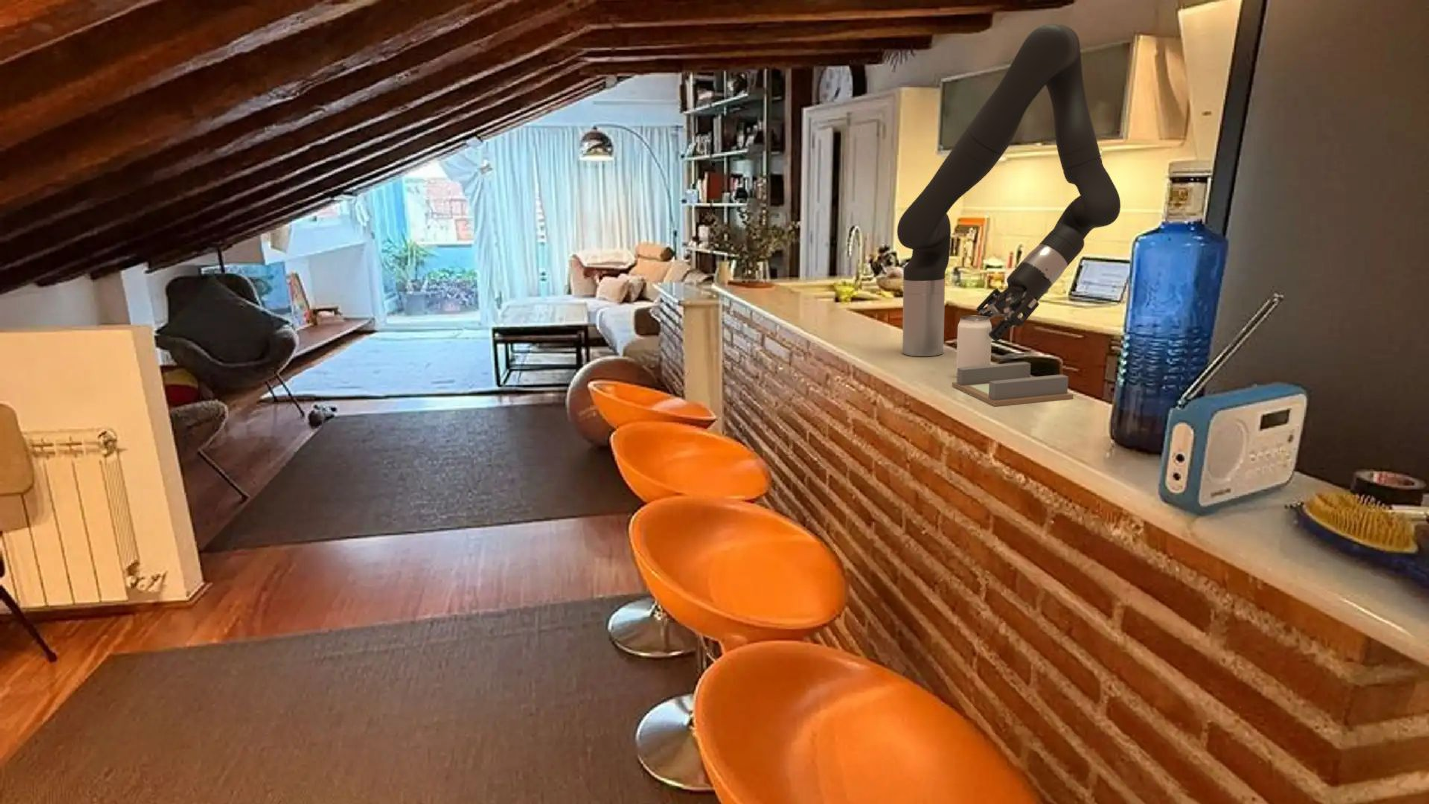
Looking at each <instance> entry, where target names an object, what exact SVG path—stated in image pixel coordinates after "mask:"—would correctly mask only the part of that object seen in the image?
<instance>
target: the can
mask: <svg viewBox="0 0 1429 804" xmlns="http://www.w3.org/2000/svg"><path fill="white" fill-rule="evenodd" d="M989 319H990V317H987V316H978V315H964V316H961V317H960V320H959V323H958V324H957V342H956V369H957V368H962V367H973V366H984V365H991V363H992V362H991V360H992V357H991V356H992V338H991V337H990V336H989V333H990V332H991V331H992V329H993V327H992V323H991V321H990V320H991V319H990V320H989Z"/></svg>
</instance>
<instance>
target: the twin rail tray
mask: <svg viewBox="0 0 1429 804" xmlns="http://www.w3.org/2000/svg"><path fill="white" fill-rule="evenodd" d="M1031 365H1032V364H1031V363H1030V362H1027V361H1019V362H1018V361H1017V362H1008V363H997V364H990V365H984V366H973V367H962V368H957V367H956V381H952V382H951V387H953V388H955V389H957V390H958V391H961V390H962V391H961V392H963V391H964V392H963V393H966V394H967V393H968V394H967V395H969V394H970V395H969V396H971V397H974V398H976V399H978V400H979V401H982V402H984V403H986V404H988V405H991V406H992V407H1001V406H1000V405H1004V406H1010V405H1011V406H1012V405H1023V404H1032V403H1044V402H1052V401H1061V400H1063V401H1064V400H1065V401H1066V400H1071V399H1072V400H1073V399H1074V394H1073V393H1071V392H1069V376H1067V375H1065V374H1054V375H1053V374H1052V375H1043V376H1042V375H1041V376H1033V377H1032V376H1031V367H1032V366H1031Z"/></svg>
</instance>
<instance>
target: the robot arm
mask: <svg viewBox="0 0 1429 804" xmlns="http://www.w3.org/2000/svg"><path fill="white" fill-rule="evenodd" d="M1081 54H1082V53H1081V43H1080V39H1079V36H1078V34H1077V32H1076V31H1075V30H1073V28H1071V27H1069V26H1067V25H1064V24H1056V23H1047V24H1043V25H1041V26H1038V27H1037V28H1036V29H1033V31H1031V32H1030V33H1029V34H1028V35H1027V37H1025V39H1024V41H1023V42H1022V44H1021V46H1020V48H1019V49H1018V51H1017V53H1016V55H1015V57H1014V58H1013V60H1012V62H1011V64H1010V65H1009V66H1008V67H1009V68H1008V69H1007V71H1006V73H1005V74H1004V76H1003V77H1002V79H1001V81H1000V83H999V84H998V85H997V87H996V88H995V90H994V91H993V92H992V93H991V95H990V96H989V97H988V99H986V101H985V103H984V104H983V105H982V107H980V109H979V111H978V112H977V113H976V115H975V116H974V117H973V119H972V120H971V121H970V123H969V124H968V125H967V127H966V128H965V130H964V131H963V133H962V134H961V135H960V137H959V138H958V140H957V141H956V143H954V146H953V147H952V149H951V150H950V152H949V153H948V155H947V156H946V158H945V159H944V160H943V162H942V163H941V165H940V166H939V168H938V170H937V171H936V172H935V173H934V176H933V177H931V179H930V181H929V182H928V184H927V185H926V186H925V188H923V190H922V192H920V194H918V196H917V197H916V198H915V199H914V200H913V201H912V203H911V204H909V206H908V207H907V209H905V211H904V212H903V214H902V215H901V217H900V218H899V221H898V224H897V228H896V231H897V232H896V233H897V234H896V235H897V239H898V241H899V243H900V245H902V246H903V247H904V248H907V249H910V250H912V254H911V257H910V260H909V261H908V262H907V264H906V265H905V266H904V267H903V271H902V272H903V277H902V282H903V283H902V353H903V355H907V356H912V357H913V356H914V357H933V356H939V355H942V354H944V338H945V337H944V336H945V333H944V331H945V296H946V295H945V294H946V289H945V288H946V270H947V268H948V265H949V263H950V262H949V261H950V254H951V253H950V252H951V251H950V250H951V249H950V248H951V237H952V235H951V231H952V227H951V225H952V224H951V221H950V218H949V215H948V212H949V211H950V210H951V208H952V207H953V205H954V204H955V203H956V202H957V201H958V200H960V198H962V197H963V196H964V195H965V194H966V193H967V192H969V191H970V190H971V189H972V188H974V186H977V184H978V183H980V182H981V181H982V180H983V179H984V178H986V176H987V175H988V174H989V173H990V172H991V171H992V169H993V168H994V167H995V166H996V164H997V163H998V161H999V160H1000V159H1001V158H1002V156H1003V155H1004V153H1005V152H1006V151H1007V149H1008V148H1009V146H1010V144H1011V143H1012V141H1013V139H1014V138H1015V135H1016V134H1017V131H1018V129H1019V126H1020V124H1021V121H1022V119H1023V117H1024V116H1025V114H1026V112H1027V109H1028V108H1029V107H1030V105H1031V103H1032V102H1033V101H1034V99H1035V98H1036V97H1037V96H1038V94H1039V93H1041V91H1042V89H1043V88H1044V87H1046V90H1047V91H1048V94H1049V98H1050V102H1051V107H1052V112H1053V121H1054V137H1055V144H1056V149H1057V154H1058V157H1059V160H1060V161H1059V162H1060V165H1061V169H1062V172H1063V175H1064V179H1065V180H1066V182H1067V183H1069V184H1071V185H1074V186H1075V187H1076V189H1077V191H1078V193H1079V196H1077V197H1076V198H1074V199H1073V200H1072V201H1071V202H1070V203H1069V204H1068V205H1067V207H1066V208H1065V209H1064V211H1063V212H1062V214H1061V215H1060V217H1059V219H1058V220H1057V222H1056V224H1055V226H1054V227H1053V229H1052V230H1051V231H1050V232H1049V233H1048V234H1047V235H1046V236H1045V237H1044V238H1043V239H1042V240H1041V242H1040V243H1039V244H1037V246H1036V247H1034V248H1033V249H1032V250H1031V251H1030V252H1029V253H1028V254H1027V255H1026V256H1025V258H1024V259H1023V260H1022V261H1021V262H1020V263H1019V264H1018V265H1017V266H1016V268H1015V269H1013V271H1012V272H1011V273H1010V274H1009V275H1008V276H1007V278H1006V283H1007V288H1004V290H1003V291H1000V290H999V289H998V288H994V289H993V291H991V293H989V295H988V296H987V297H985V299H984V300H983V301H981V303H980V304H979V305H978V306H977V307H976V309H975V310H976V311H977V312H978V315H977V316H987V317H990V319H989V320H992V319H994V318H995V317H996V318H999V317H1001V316H1002V315H1003V316H1002V320H999V321H998V323H997V324H996V325H995V326H994V327H992V331H991V332H990V333H989V336H990V337H991V340H993V341H995V342H998V341H999V340H1001V339H1002V337H1003V336H1004V335H1005V334H1006V333H1007V332H1008V331H1009V330H1010V328H1011V329H1013V328H1014V327H1018V328H1019V327H1022V325H1023V324H1024V323H1025V322H1026V321H1027V320H1028V319H1029V317H1030V316H1031V315H1032V314H1033V313H1034V312H1035V310H1036V309H1037V308H1038V307H1039V305H1040V303H1039V301H1040V300H1041V298H1043V296H1045V294H1046V293H1047V292H1048V291H1049V289H1050V288H1051V287H1052V286H1053V285H1055V283H1056V282H1057V281H1058V279H1060V277H1061V276H1062V275H1063V273H1064V272H1065V271H1066V268H1067V267H1069V265H1070V264H1071V263H1072V262H1073V261H1074V260H1075V258H1077V256H1078V255H1079V254H1080V253H1081V252H1082V250H1083V248H1084V247H1085V239H1086V237H1087V236H1088V234H1089V233H1091V231H1092V230H1094V229H1096V228H1097V229H1098V228H1102V227H1107V226H1110V225H1111V224H1113V223H1114V222H1115V221H1116V220H1117V219H1118V217H1119V216H1120V212H1121V198H1120V194H1119V191H1118V190H1117V187H1116V186H1115V184H1114V182H1113V180H1112V179H1111V176H1110V174H1109V173H1108V171H1107V170H1106V168H1105V166H1104V163H1103V159H1102V156H1101V152H1100V147H1099V145H1098V144H1099V143H1098V140H1097V137H1096V133H1095V132H1096V131H1095V130H1094V126H1093V123H1092V118H1091V115H1090V111H1089V107H1088V100H1087V98H1086V92H1085V86H1084V85H1085V83H1084V78H1083V67H1082V65H1083V64H1082V55H1081ZM1021 315H1022V316H1021Z"/></svg>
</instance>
